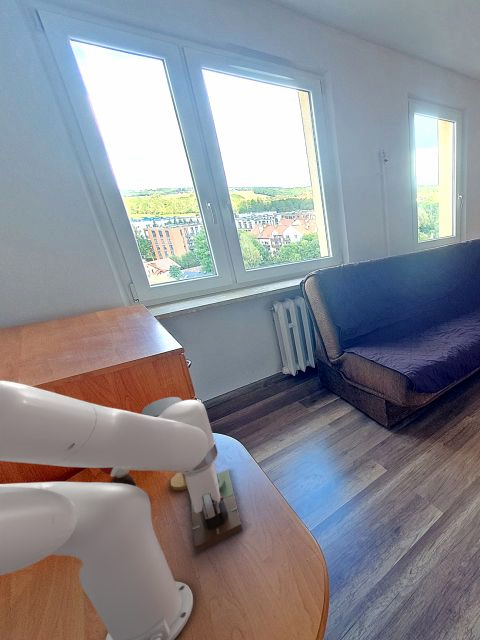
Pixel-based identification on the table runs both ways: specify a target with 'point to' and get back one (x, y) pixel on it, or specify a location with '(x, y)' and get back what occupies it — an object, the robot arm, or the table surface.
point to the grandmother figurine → (122, 476)
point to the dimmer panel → (213, 536)
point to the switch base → (223, 485)
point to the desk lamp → (155, 411)
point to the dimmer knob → (221, 506)
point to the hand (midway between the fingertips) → (215, 515)
